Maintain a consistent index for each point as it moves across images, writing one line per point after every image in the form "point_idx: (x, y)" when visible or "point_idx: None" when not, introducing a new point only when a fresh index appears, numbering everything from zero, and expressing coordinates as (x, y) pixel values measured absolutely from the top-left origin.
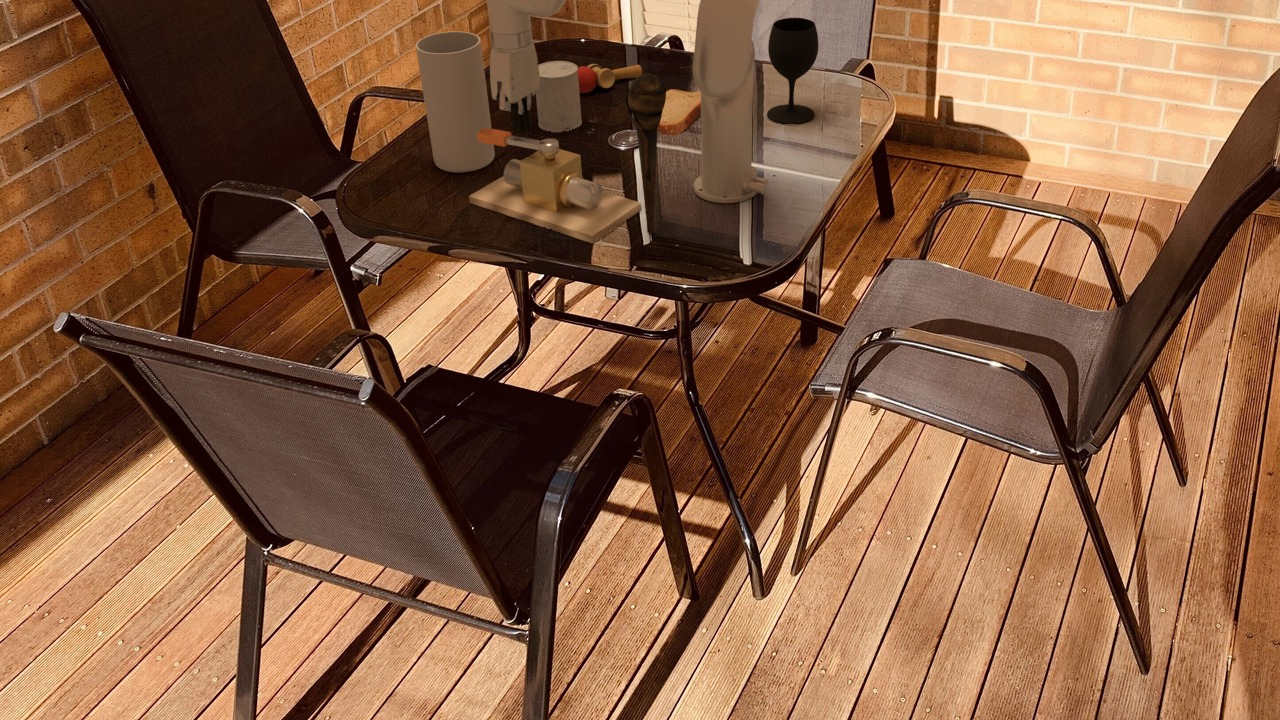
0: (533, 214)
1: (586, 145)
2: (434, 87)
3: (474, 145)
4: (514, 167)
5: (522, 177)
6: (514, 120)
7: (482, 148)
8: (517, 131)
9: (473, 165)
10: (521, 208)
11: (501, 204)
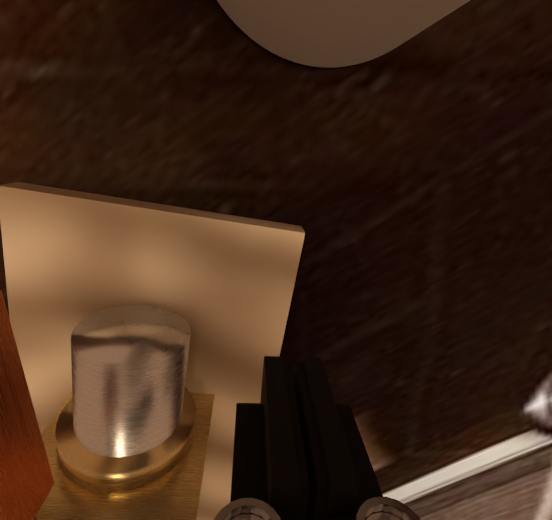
0: None
1: (548, 311)
2: None
3: (258, 3)
4: (81, 395)
5: None
6: (234, 460)
7: (302, 40)
8: (262, 379)
9: (241, 27)
10: (41, 394)
11: (22, 329)
